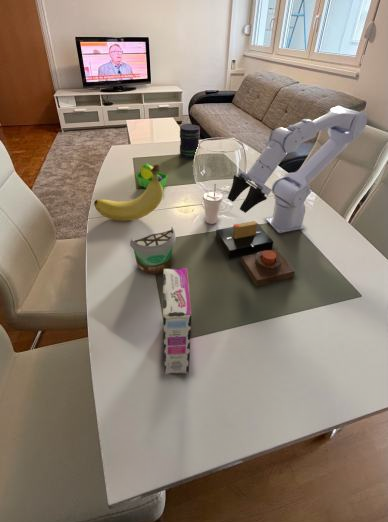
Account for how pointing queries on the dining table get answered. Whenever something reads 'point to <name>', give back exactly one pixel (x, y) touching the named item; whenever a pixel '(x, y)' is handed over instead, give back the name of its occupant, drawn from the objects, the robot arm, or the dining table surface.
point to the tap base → (243, 242)
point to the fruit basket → (149, 176)
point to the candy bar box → (176, 321)
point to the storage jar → (189, 140)
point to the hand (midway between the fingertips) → (236, 205)
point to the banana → (133, 202)
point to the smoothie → (212, 205)
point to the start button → (268, 257)
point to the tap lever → (244, 229)
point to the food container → (154, 252)
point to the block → (266, 268)
